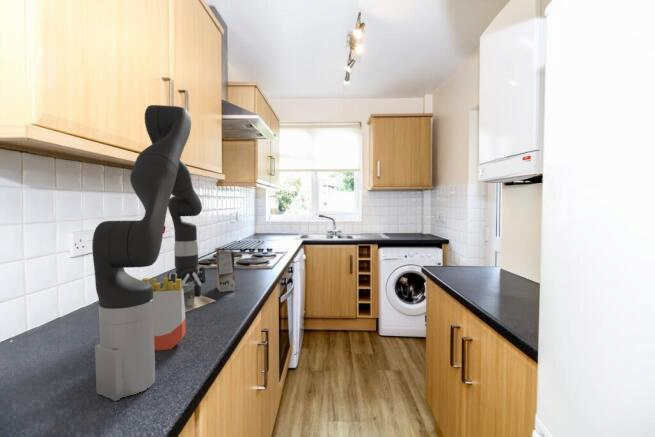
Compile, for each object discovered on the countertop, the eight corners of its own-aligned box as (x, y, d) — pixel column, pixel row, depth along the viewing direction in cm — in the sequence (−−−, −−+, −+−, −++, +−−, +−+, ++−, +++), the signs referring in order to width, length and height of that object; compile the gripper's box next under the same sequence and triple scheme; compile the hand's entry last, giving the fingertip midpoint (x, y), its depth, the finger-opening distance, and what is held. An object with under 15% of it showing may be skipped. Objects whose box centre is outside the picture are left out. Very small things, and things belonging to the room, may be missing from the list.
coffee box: (235, 290, 135) (234, 252, 135) (219, 292, 133) (218, 253, 132) (231, 285, 144) (231, 249, 143) (216, 286, 141) (215, 249, 140)
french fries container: (141, 344, 85) (139, 275, 84) (186, 340, 87) (184, 273, 86) (134, 352, 80) (133, 279, 79) (182, 348, 83) (181, 277, 82)
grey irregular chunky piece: (194, 299, 121) (195, 288, 121) (194, 307, 114) (195, 296, 114) (162, 299, 117) (163, 288, 117) (159, 307, 110) (160, 296, 110)
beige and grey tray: (171, 321, 103) (171, 305, 103) (115, 308, 116) (115, 293, 115) (218, 303, 122) (218, 289, 121) (165, 293, 134) (165, 281, 134)
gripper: (176, 257, 106) (177, 306, 107) (209, 251, 119) (210, 295, 119) (160, 255, 109) (162, 303, 110) (194, 250, 122) (195, 293, 123)
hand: (187, 299), depth 115 cm, fingers open, 8 cm apart
